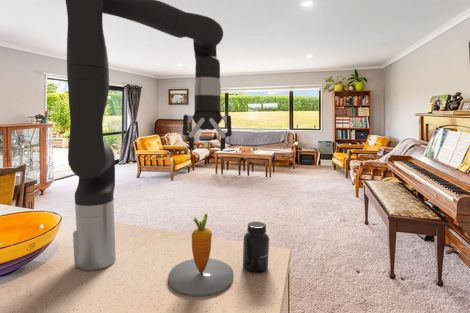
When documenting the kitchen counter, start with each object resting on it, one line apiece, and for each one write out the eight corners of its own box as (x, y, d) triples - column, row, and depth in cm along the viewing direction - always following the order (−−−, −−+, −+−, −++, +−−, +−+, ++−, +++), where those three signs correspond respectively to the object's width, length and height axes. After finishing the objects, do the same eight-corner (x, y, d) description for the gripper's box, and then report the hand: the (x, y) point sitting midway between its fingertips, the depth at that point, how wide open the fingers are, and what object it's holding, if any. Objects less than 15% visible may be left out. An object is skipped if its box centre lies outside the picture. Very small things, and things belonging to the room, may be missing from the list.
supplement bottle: (266, 275, 73) (268, 230, 72) (240, 272, 74) (241, 228, 73) (269, 262, 80) (270, 221, 78) (245, 260, 81) (245, 219, 80)
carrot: (193, 279, 69) (193, 219, 67) (190, 269, 74) (190, 212, 72) (213, 276, 70) (214, 217, 69) (209, 266, 75) (209, 211, 73)
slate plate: (161, 296, 64) (161, 292, 64) (175, 261, 80) (175, 257, 80) (233, 296, 64) (233, 292, 64) (233, 261, 80) (233, 258, 80)
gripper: (180, 93, 79) (181, 151, 81) (232, 94, 80) (231, 152, 82) (185, 95, 87) (185, 149, 89) (232, 96, 87) (231, 149, 89)
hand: (207, 150), depth 85 cm, fingers open, 8 cm apart
